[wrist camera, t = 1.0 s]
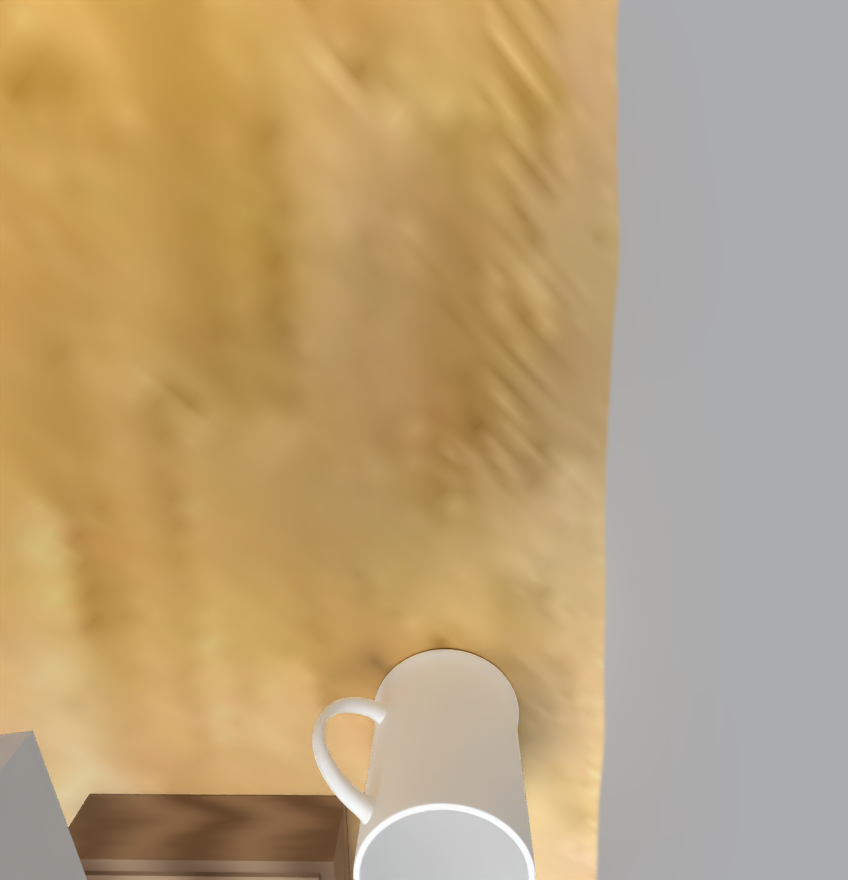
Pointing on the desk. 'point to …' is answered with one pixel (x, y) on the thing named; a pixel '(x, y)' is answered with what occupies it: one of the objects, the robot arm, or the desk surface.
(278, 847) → the tray
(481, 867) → the mug
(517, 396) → the desk surface
